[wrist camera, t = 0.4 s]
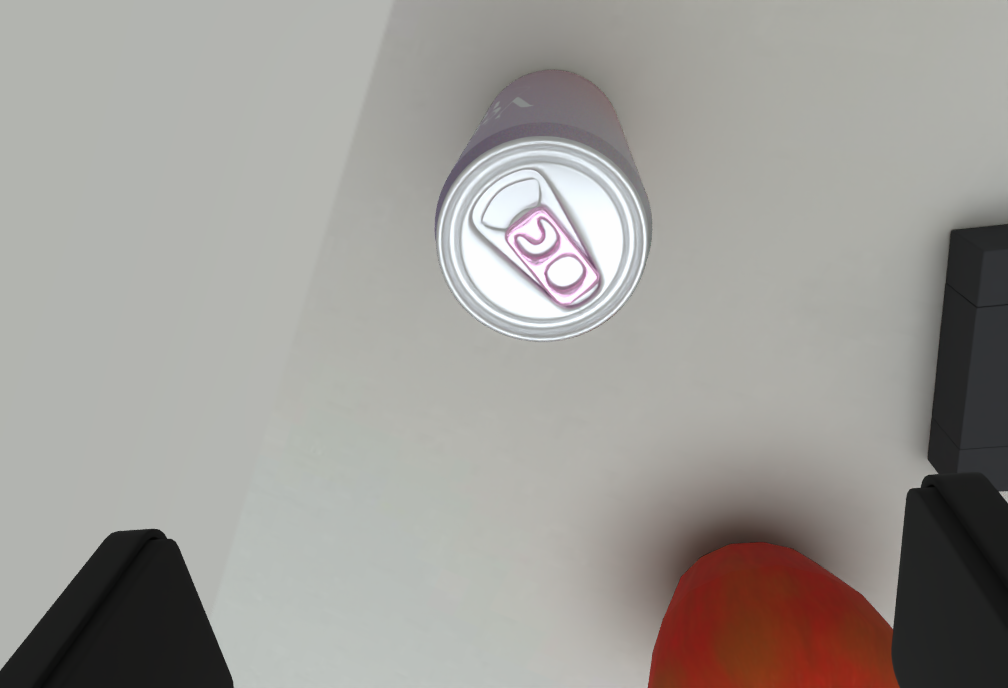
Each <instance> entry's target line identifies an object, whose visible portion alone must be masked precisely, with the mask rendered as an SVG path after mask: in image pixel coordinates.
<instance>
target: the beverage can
mask: <svg viewBox="0 0 1008 688" xmlns="http://www.w3.org/2000/svg"><path fill="white" fill-rule="evenodd" d="M435 239H436V249H437V256H438V261H439V265H440V268H441V272H442V274H443V277H444V279H445V281H446V284H447V286H448V287H449V289H450V291H451V293H452V294H453V295H454V297H455V298H456V300H457V301H458V302H459V303H460V305H461V306H462V307H463V308H464V309H465V310H466V311H467V312H468V313H469V314H470V315H471V316H472V317H474V318H475V319H476V320H477V321H479V322H480V323H482V324H483V325H485V326H487V327H488V328H490V329H492V330H494V331H496V332H498V333H500V334H503V335H506V336H509V337H512V338H516V339H520V340H525V341H534V342H552V341H560V340H565V339H570V338H573V337H577V336H579V335H582V334H585V333H587V332H589V331H591V330H593V329H595V328H597V327H599V326H600V325H602V324H603V323H605V322H606V321H608V320H609V319H610V318H611V317H613V316H614V315H615V314H616V313H617V312H618V311H619V310H620V309H621V308H622V307H623V306H624V305H625V303H626V302H627V301H628V300H629V298H630V297H631V296H632V294H633V292H634V291H635V289H636V287H637V285H638V283H639V281H640V279H641V277H642V274H643V271H644V268H645V265H646V261H647V258H648V255H649V251H650V246H651V240H652V215H651V209H650V204H649V200H648V197H647V194H646V191H645V188H644V186H643V183H642V180H641V178H640V175H639V173H638V170H637V167H636V165H635V162H634V159H633V157H632V154H631V151H630V149H629V146H628V144H627V141H626V138H625V136H624V133H623V130H622V128H621V125H620V122H619V120H618V117H617V115H616V112H615V110H614V108H613V106H612V104H611V103H610V101H609V100H608V98H607V97H606V96H605V94H604V93H603V92H602V91H601V90H600V89H599V88H598V87H597V86H596V85H594V84H593V83H592V82H590V81H589V80H587V79H585V78H583V77H581V76H579V75H577V74H574V73H571V72H567V71H561V70H542V71H537V72H533V73H530V74H527V75H525V76H522V77H520V78H518V79H517V80H515V81H513V82H512V83H511V84H509V85H508V86H507V87H506V88H505V89H503V90H502V91H501V92H500V94H499V95H498V96H497V97H496V98H495V100H494V101H493V103H492V104H491V106H490V108H489V109H488V111H487V113H486V114H485V116H484V118H483V119H482V121H481V123H480V124H479V126H478V128H477V129H476V131H475V133H474V134H473V136H472V138H471V139H470V141H469V143H468V144H467V146H466V148H465V149H464V151H463V153H462V154H461V156H460V158H459V159H458V161H457V163H456V164H455V166H454V168H453V169H452V171H451V173H450V175H449V176H448V178H447V180H446V182H445V184H444V186H443V188H442V191H441V194H440V197H439V200H438V204H437V209H436V216H435Z"/></svg>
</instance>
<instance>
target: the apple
mask: <svg viewBox="0 0 1008 688" xmlns="http://www.w3.org/2000/svg"><path fill="white" fill-rule="evenodd" d="M892 637H893V629H892V628H891V627H890V625H889V624H888V623H887V622H886V621H885V619H884V618H883V617H882V616H881V615H880V614H879V613H878V612H877V611H876V609H875V608H874V607H873V606H872V605H871V604H870V603H869V602H868V601H867V600H866V598H865V597H864V596H863V595H862V594H860V593H859V592H858V591H856V590H855V589H853V588H852V587H850V586H849V585H847V584H846V583H844V582H843V581H842V580H840V579H839V578H837V577H836V576H834V575H833V574H831V573H830V572H828V571H827V570H826V569H824V568H823V567H821V566H820V565H818V564H817V563H815V562H814V561H812V560H810V559H809V558H807V557H805V556H804V555H802V554H801V553H799V552H797V551H796V550H794V549H792V548H788V547H783V546H778V545H774V544H769V543H765V542H754V543H738V544H729V545H726V546H724V547H722V548H720V549H718V550H715V551H713V552H711V553H709V554H706V555H704V556H702V557H701V558H700V559H699V560H698V561H697V562H696V563H695V564H694V565H693V566H692V567H691V568H690V569H688V570H687V571H686V572H685V573H684V574H683V575H682V576H681V579H680V581H679V583H678V586H677V588H676V590H675V593H674V595H673V597H672V600H671V602H670V604H669V607H668V609H667V611H666V614H665V616H664V618H663V621H662V624H661V627H660V631H659V634H658V637H657V640H656V643H655V647H654V650H653V654H652V661H651V669H650V676H649V683H648V688H900V687H899V685H898V682H897V679H896V677H895V673H894V669H893V664H892V657H891V647H892Z"/></svg>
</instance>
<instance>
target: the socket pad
mask: <svg viewBox="0 0 1008 688" xmlns="http://www.w3.org/2000/svg"><path fill="white" fill-rule="evenodd" d="M946 282H947V283H946V285H945V295H944V305H943V315H942V325H941V334H940V344H939V354H938V364H937V374H936V383H935V393H934V403H933V413H932V423H931V433H930V442H929V452H928V460H929V462H930V463H931V464H932V466H933V467H934V468H935V470H936V471H937V472H938V474H950V473H964V472H979V473H982V474H983V475H984V476H985V477H987V478H988V480H989V481H990V482H991V483H992V485H993V486H994V487H995V488H996V489H997V491H998V492H999V491H1008V225H998V226H988V227H979V228H969V229H960V230H952V231H951V239H950V249H949V259H948V269H947V279H946Z"/></svg>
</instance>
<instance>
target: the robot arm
mask: <svg viewBox="0 0 1008 688" xmlns="http://www.w3.org/2000/svg"><path fill="white" fill-rule="evenodd" d="M891 657H892V664H893V669H894V673H895V677H896V679H897V682H898V685H899V687H900V688H1008V503H1007V502H1006V501H1005V499H1004V498H1003V497H1002V496H1001V494H1000V493H999V492H998V491H997V489H996V488H995V487H994V486H993V485H992V483H991V482H990V481H989V480H988V478H987V477H985V476H984V475H983V474H982V473H979V472H964V473H950V474H935V475H928V476H926V477H925V478H924V479H923V481H922V484H921V488H912V489H910V490H909V491H908V493H907V498H906V506H905V516H904V526H903V536H902V546H901V557H900V567H899V577H898V587H897V597H896V607H895V617H894V627H893V637H892V647H891ZM0 688H234V687H233V680H232V677H231V674H230V672H229V669H228V667H227V664H226V662H225V659H224V657H223V654H222V652H221V650H220V647H219V645H218V642H217V640H216V637H215V635H214V632H213V630H212V628H211V625H210V623H209V620H208V618H207V615H206V613H205V611H204V608H203V606H202V603H201V601H200V598H199V596H198V593H197V591H196V588H195V586H194V583H193V582H192V579H191V576H190V574H189V571H188V569H187V566H186V564H185V561H184V559H183V557H182V554H181V552H180V549H179V547H178V545H177V544H176V542H175V541H173V540H172V539H167V538H166V536H165V534H164V533H163V532H162V531H160V530H158V529H143V530H129V531H117V532H114V533H111V534H110V535H109V536H108V537H107V538H106V539H105V540H104V541H103V542H102V544H101V545H100V546H99V547H98V549H97V550H96V551H95V552H94V554H93V555H92V556H91V558H90V559H89V560H88V561H87V562H86V564H85V565H84V566H83V567H82V569H81V570H80V571H79V573H78V574H77V575H76V576H75V578H74V579H73V580H72V581H71V583H70V584H69V585H68V586H67V588H66V589H65V590H64V591H63V593H62V594H61V595H60V596H59V598H58V599H57V600H56V601H55V603H54V604H53V605H52V607H51V608H50V609H49V610H48V611H47V613H46V614H45V615H44V616H43V618H42V619H41V620H40V622H39V623H38V624H37V625H36V626H35V628H34V629H33V630H32V632H31V633H30V634H29V635H28V637H27V638H26V639H25V640H24V642H23V643H22V644H21V645H20V647H19V648H18V649H17V650H16V652H15V653H14V654H13V655H12V657H11V658H10V659H9V661H8V662H7V663H6V664H5V665H4V667H3V668H2V669H1V671H0Z"/></svg>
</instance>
